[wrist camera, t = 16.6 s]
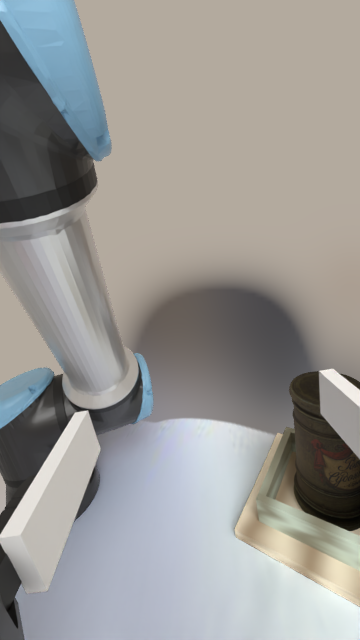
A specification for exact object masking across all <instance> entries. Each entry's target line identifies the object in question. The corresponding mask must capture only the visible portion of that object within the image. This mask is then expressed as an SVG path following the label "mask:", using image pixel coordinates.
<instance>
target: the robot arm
mask: <svg viewBox="0 0 360 640" xmlns="http://www.w3.org/2000/svg"><path fill="white" fill-rule="evenodd" d="M110 153H111V140H110V136H109V131H108V126H107V121H106V114H105V110H104V106H103V102H102V98H101V94H100V90H99V86H98V82H97V78H96V75H95V71H94V68H93V64H92V60H91V56H90V53H89V49H88V46H87V42H86V39H85V35H84V32H83V28H82V25H81V22H80V18H79V15H78V12H77V8H76V5H75V2H74V0H0V273H1V274H2V276H3V278H4V279H5V280H6V282H7V284H8V285H9V287H10V288H11V290H12V291H13V293H14V295H15V296H16V298H17V299H18V301H19V302H20V304H21V305H22V307H23V309H24V310H25V311H26V313H27V315H28V316H29V318H30V319H31V321H32V322H33V324H34V326H35V327H36V329H37V330H38V332H39V333H40V335H41V336H42V338H43V339H44V341H45V343H46V344H47V346H48V347H49V349H50V350H51V352H52V353H53V355H54V357H55V358H56V360H57V361H58V363H59V364H60V366H61V367H62V369H63V370H64V373H63V374H61V375H57V376H54V372H53V371H52V370H51V369H49V368H38V369H34V370H31V371H28V372H25V373H23V374H21V375H19V376H16V377H14V378H12V379H10V380H8V381H6V382H5V383H3V384H2V385H0V473H1V475H2V477H3V479H4V481H5V484H6V507H5V510H4V511H3V512H2V513H1V515H0V640H24V635H23V629H22V623H21V618H20V612H19V607H18V602H17V600H16V598H15V595H16V593H17V591H18V589H19V587H20V584H22V586H23V588H24V590H25V592H26V594H31V593H38V592H46V591H48V589H49V586H50V584H51V581H52V578H53V576H54V573H55V570H56V568H57V565H58V562H59V560H60V557H61V554H62V552H63V549H64V546H65V544H66V541H67V538H68V536H69V533H70V530H71V528H72V525H73V522H74V521H75V520H76V519H77V518H78V517H79V516H80V515H81V514H82V513H83V512H84V511H85V510H86V508H87V507H88V506H89V504H90V503H91V502H92V500H93V498H94V496H95V494H96V492H97V490H98V486H99V480H100V477H99V472H98V469H97V466H96V461H97V458H98V456H99V453H100V450H101V448H100V445H99V442H98V439H97V436H96V435H99V434H102V433H105V432H108V431H111V430H114V429H117V428H120V427H123V426H126V425H129V424H135V423H137V422H138V421H139V420H142V419H144V418H147V417H148V416H149V415H150V414H151V413H152V411H153V393H152V390H151V389H152V385H151V379H150V375H149V371H148V367H147V365H146V362H145V359H144V357H143V356H142V355H140V354H139V353H135V354H134V353H132V352H131V351H130V350H129V349H128V348H126V347H125V346H123V344H122V340H121V337H120V333H119V329H118V326H117V322H116V319H115V315H114V311H113V308H112V304H111V301H110V297H109V293H108V290H107V286H106V283H105V279H104V275H103V271H102V268H101V264H100V261H99V257H98V254H97V250H96V246H95V242H94V239H93V235H92V232H91V228H90V225H89V220H88V217H87V214H86V210H85V207H86V205H87V204H88V202H89V201H90V199H91V198H92V197H93V195H94V194H95V192H96V190H97V187H98V182H97V177H96V172H95V168H94V163H93V159H94V160H95V161H102V159H103V158H104V157H106V156H108V155H109V154H110ZM319 388H320V412H321V415H322V416H323V417H324V418H325V419H326V420H327V422H328V423H329V424H330V425H331V426H332V427H333V429H334V430H335V431H336V432H337V433H338V434H339V436H340V437H341V438H342V439H343V440H344V441H345V443H346V444H347V445H348V446H349V447H350V448H351V450H352V451H353V452H354V453H355V454H356V455H357V457H358V458H359V459H360V390H359V389H358V388H357V387H355V386H354V385H353V384H352V383H350V382H349V381H348V380H346V379H345V378H344V377H343V376H341V375H340V374H339V373H338V372H336V371H335V370H334V369H328V370H323V371H319Z"/></svg>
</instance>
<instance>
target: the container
mask: <svg viewBox="0 0 360 640" xmlns="http://www.w3.org/2000/svg"><path fill="white" fill-rule="evenodd" d="M339 374H340V373H339ZM340 375H341V376H343V377H344V378H345V379H346V380H348V381H349V382H350V383H352V384H353V385H354V386H355V387H357V388H358V389H359V390H360V382H359V381H357V380H356V379H354V378H352V377H349V376H347V375H343V374H340ZM289 392H290V395H291V397H292V402H293V404H294V411H293V418H294V426H295V427H294V428H295V442H296V461H295V467H296V473H295V476H294V494H295V497H296V500H297V502H298V504H299V505H300V507H301V508H302V510H303V511H304V512H305V513H307V514H310V515H312V516H314V517H317V518H319V519H321V520H324V521H326V522H328V523H331V524H333V525H335V526H338V527H340V528H342V529H345V530H347V531H354V530H357V529H359V528H360V459H359V458H358V457H357V455H356V454H355V453H354V452H353V451H352V450H351V448H350V447H349V446H348V445H347V444H346V443H345V441H344V440H343V439H342V438H341V437H340V436H339V434H338V433H337V432H336V431H335V430H334V429H333V427H332V426H331V425H330V424H329V423H328V422H327V420H326V419H325V418H324V417H323V416H322V415H321V412H320V388H319V372H318V371H317V372H308V373H304V374H302V375H299V376H297V377H296V378H294V380H293V381H292V382H291V384H290V389H289Z"/></svg>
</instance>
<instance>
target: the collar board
mask: <svg viewBox="0 0 360 640" xmlns="http://www.w3.org/2000/svg"><path fill="white" fill-rule="evenodd" d="M295 461H296V442H295V429H292V428H288V427H286V428H285V431H284V433H283V434H280V433H277V435H276V437H275V439H274V442H273V444H272V446H271V448H270V451H269V453H268V455H267V457H266V460H265V462H264V464H263V466H262V469H261V471H260V473H259V475H258V478H257V480H256V482H255V484H254V487H253V489H252V491H251V493H250V496H249V498H248V500H247V502H246V505H245V507H244V509H243V511H242V514H241V516H240V518H239V520H238V522H237V525H236V527H235V535H236V538H238V539H240V540H242V541H243V542H245V543H247V544H249V545H251V546H252V547H254V548H256V549H258V550H259V551H261V552H263V553H265V554H267V555H268V556H270V557H272V558H274V559H276V560H277V561H279V562H281V563H283V564H284V565H286V566H288V567H290V568H292V569H293V570H295V571H297V572H299V573H300V574H302V575H304V576H306V577H308V578H309V579H311V580H313V581H315V582H316V583H318V584H320V585H322V586H324V587H325V588H327V589H329V590H331V591H333V592H334V593H336V594H338V595H340V596H341V597H343V598H345V599H347V600H349V601H350V602H352V603H354V604H356V605H357V606H359V607H360V528H359V529H357V530H354V531H347V530H345V529H342V528H340V527H338V526H335V525H333V524H331V523H328V522H326V521H324V520H321V519H319V518H317V517H314V516H312V515H310V514H307V513H305V512H304V511H303V510H302V508H301V507H300V505H299V504H298V502H297V500H296V497H295V494H294V476H295V473H296V467H295Z"/></svg>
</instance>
